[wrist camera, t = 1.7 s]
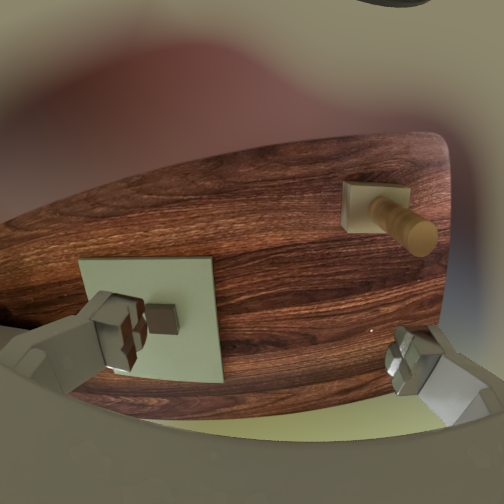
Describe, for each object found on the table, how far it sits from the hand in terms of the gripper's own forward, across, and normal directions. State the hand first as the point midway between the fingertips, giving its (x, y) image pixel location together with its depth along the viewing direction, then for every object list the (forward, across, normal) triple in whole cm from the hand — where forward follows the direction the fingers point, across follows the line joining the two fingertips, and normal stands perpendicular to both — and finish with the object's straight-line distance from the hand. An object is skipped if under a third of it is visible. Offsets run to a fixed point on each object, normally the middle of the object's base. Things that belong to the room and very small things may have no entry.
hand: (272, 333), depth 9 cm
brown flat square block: (+22, +12, +17) cm, 30 cm away
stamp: (+24, -11, 0) cm, 27 cm away
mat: (+23, +13, +19) cm, 33 cm away
